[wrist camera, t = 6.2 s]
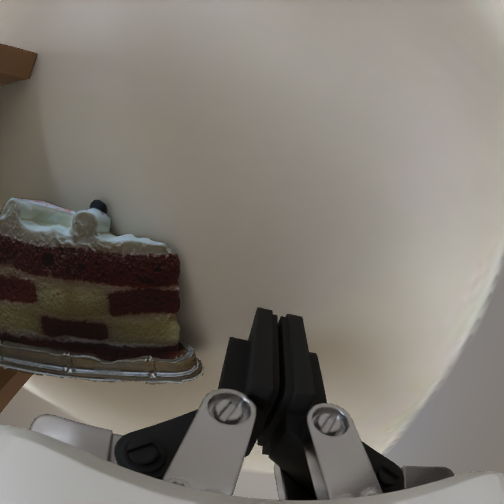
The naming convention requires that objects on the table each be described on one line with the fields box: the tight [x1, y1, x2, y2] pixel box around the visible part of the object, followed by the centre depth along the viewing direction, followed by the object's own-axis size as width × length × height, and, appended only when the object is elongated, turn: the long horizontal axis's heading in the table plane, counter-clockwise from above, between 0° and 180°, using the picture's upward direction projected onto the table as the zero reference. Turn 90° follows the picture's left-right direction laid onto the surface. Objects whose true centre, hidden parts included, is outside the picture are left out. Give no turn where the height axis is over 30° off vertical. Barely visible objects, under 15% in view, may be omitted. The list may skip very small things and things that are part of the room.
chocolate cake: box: [0, 198, 204, 385], centre depth 10 cm, size 10×7×12 cm
